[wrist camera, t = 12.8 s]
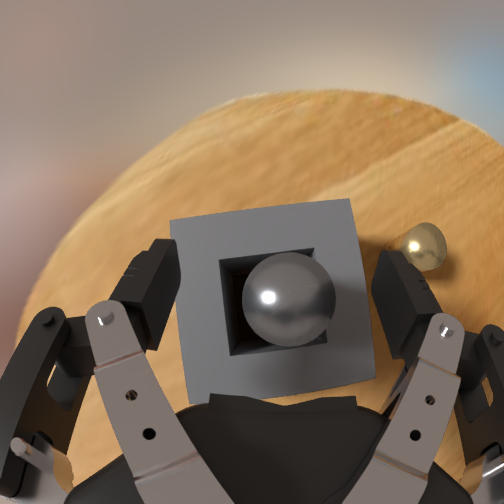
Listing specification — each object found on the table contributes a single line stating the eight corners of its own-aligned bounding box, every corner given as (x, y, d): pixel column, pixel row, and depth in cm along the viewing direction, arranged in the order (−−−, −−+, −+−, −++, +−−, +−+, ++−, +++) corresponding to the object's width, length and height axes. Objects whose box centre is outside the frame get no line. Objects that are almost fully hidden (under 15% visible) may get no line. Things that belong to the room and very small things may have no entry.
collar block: (324, 231, 23) (349, 198, 16) (342, 359, 21) (375, 378, 14) (196, 247, 23) (169, 220, 16) (211, 376, 21) (189, 404, 14)
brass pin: (410, 237, 22) (441, 220, 17) (417, 275, 22) (450, 265, 17) (378, 241, 22) (405, 224, 17) (385, 281, 22) (414, 272, 17)
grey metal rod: (289, 281, 22) (328, 247, 10) (295, 324, 21) (341, 338, 9) (246, 287, 22) (236, 258, 10) (251, 330, 21) (248, 352, 9)
